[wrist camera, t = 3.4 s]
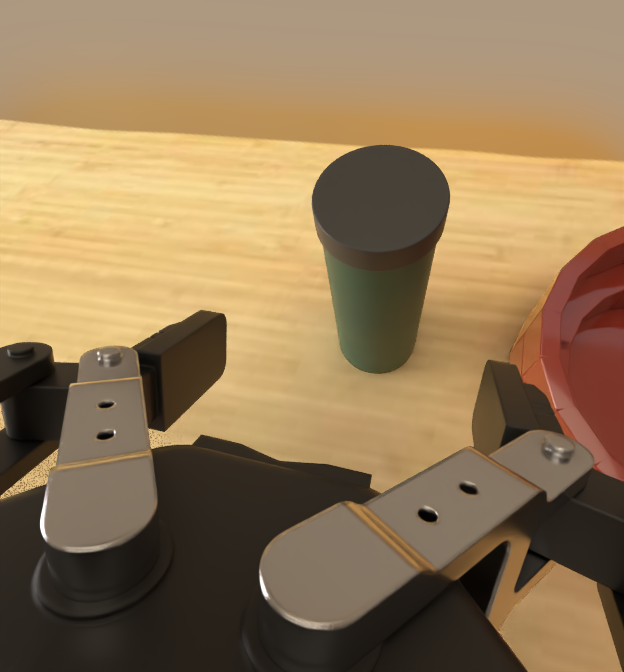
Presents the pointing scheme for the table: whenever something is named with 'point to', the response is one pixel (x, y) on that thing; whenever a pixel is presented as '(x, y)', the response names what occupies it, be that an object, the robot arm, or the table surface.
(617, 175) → the table surface
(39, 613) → the robot arm
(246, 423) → the table surface
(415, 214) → the tube
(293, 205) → the table surface
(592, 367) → the bowl
